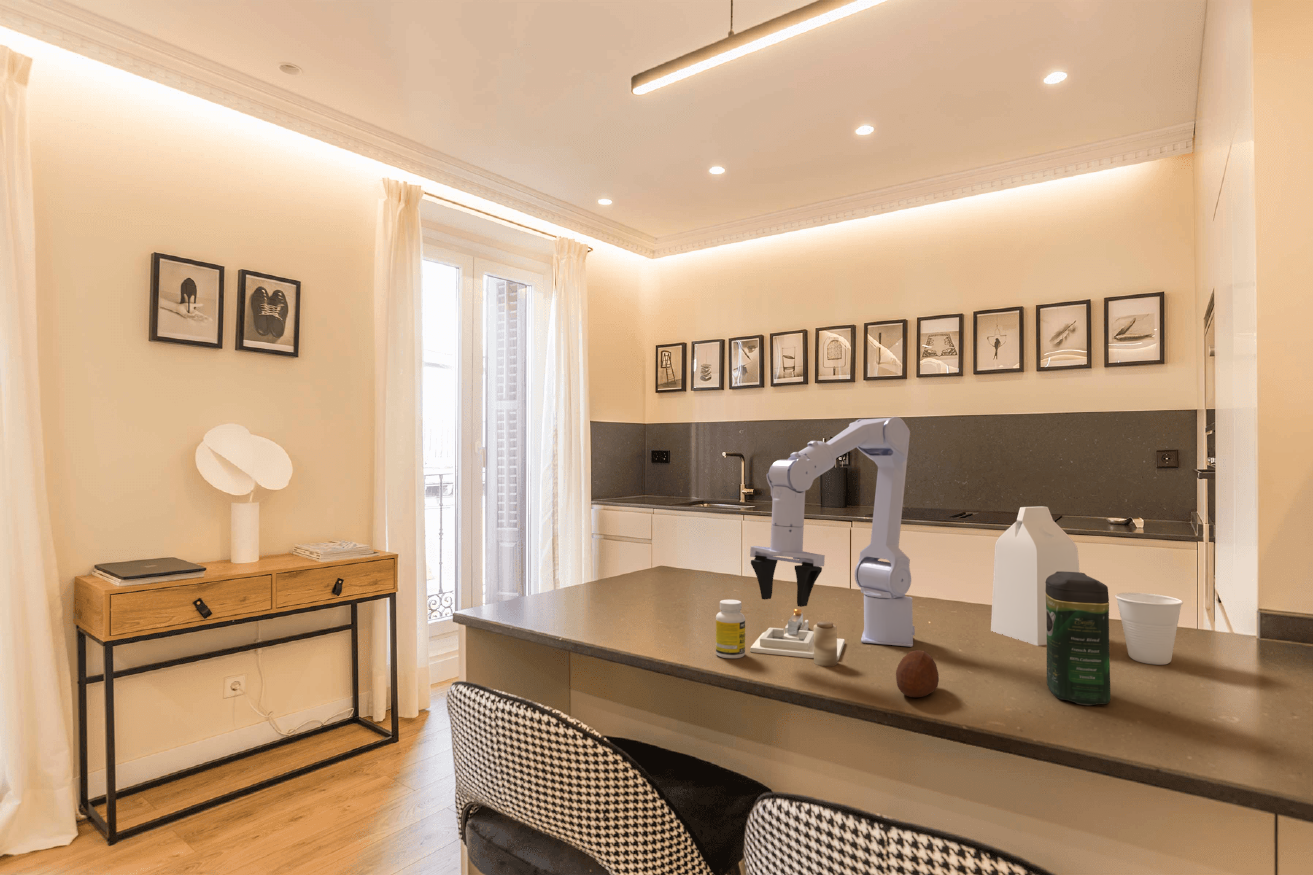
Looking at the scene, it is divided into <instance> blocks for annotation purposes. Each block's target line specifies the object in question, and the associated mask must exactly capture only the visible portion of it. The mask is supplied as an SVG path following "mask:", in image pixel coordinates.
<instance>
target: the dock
mask: <svg viewBox="0 0 1313 875" xmlns="http://www.w3.org/2000/svg"><path fill="white" fill-rule="evenodd" d="M844 647H845V639H844V638H838V637H837V662H839V660H840V657H841V654H842V652H843V648H844ZM749 651H750V653H757V654H768V655H775V656H776V655H777V656H787V657H789V656H790V657H797V658H806V659H807V658H808V659H809V658H810V659H814V630H809V619H805V620H803V625H802V626H801V628H800V630H799V633H798V634H797V635H790V634H788V623H787V624H786V625H785V627H784V628H780V627H768V628H767V630H766V631H763V632H762V633H761V634H760V636H759V637H758V638H756V640H755V641H754V642H753V644H752V645H751V646H750V650H749Z"/></svg>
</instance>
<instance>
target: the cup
mask: <svg viewBox="0 0 1313 875" xmlns="http://www.w3.org/2000/svg"><path fill="white" fill-rule="evenodd" d="M1114 597H1115V599H1116V602H1117V606H1118V611H1119V617H1120V619H1121V625H1122V629H1123V635H1124V640H1125V643H1126V644H1125V645H1126V650H1127V653H1128V656H1129V657H1130V659H1132V660H1133V661H1136V662H1139V663H1142V664H1148V665H1158V666H1163V665H1168V664H1169V663H1171V662H1172V659H1173V658H1172V657H1173V652H1174V647H1175V641H1176V634H1177V631H1178V630H1177V629H1178V624H1179V620H1180V614H1181V608H1182V605H1183V604H1184V601H1183V600H1181V599H1179V598H1176V597H1173V596H1168V595H1162V594H1157V593H1156V594H1154V593H1146V592H1120V593H1116V594H1115V595H1114Z"/></svg>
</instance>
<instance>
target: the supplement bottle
mask: <svg viewBox="0 0 1313 875" xmlns="http://www.w3.org/2000/svg"><path fill="white" fill-rule="evenodd" d="M719 610H720V611H719V612H717V614H716V616H715V654H716V655H717V657H720V658H723V659H741V658H743V657H745V655H746V616H745V615H744V614H743V613H742V612H741V611H742V601H740V600H738V599H722V600H720V601H719Z"/></svg>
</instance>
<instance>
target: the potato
mask: <svg viewBox="0 0 1313 875" xmlns="http://www.w3.org/2000/svg"><path fill="white" fill-rule="evenodd" d="M895 677H896V678H895V679H896V686H897V688H898V690H899V691H900V692H901V694H903V695H905V696H907V697H909V698H922V697H923V698H924V697H926V696H928V695H930V694H932V693H933V692H935V691H936V690H937V688H938V686H939V681H940V680H939V677H940V676H939V670H938V667H937V663H936V662H935V661H934V659H933V656H931V655H930V654H929V653H928V652H926V651H925V650H919V649H916V650H912V651H909V652H908V653H907V654H905V656H904V657H902V658H901V660H900V662H899V663H898V665H897V668H896V671H895Z"/></svg>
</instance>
